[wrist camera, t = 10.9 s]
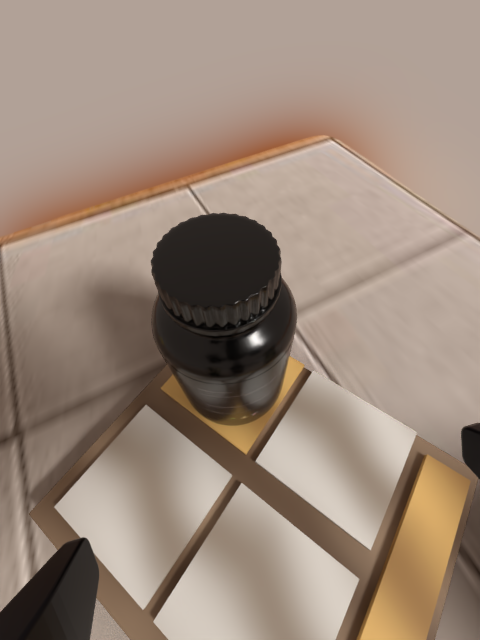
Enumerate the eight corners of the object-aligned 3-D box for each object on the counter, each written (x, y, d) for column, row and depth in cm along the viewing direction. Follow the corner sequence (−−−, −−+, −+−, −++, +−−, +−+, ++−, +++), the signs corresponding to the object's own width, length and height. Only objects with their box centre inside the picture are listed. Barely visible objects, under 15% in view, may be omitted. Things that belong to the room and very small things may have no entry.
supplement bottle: (178, 347, 22) (119, 210, 12) (266, 327, 23) (277, 182, 13) (192, 442, 19) (124, 354, 9) (296, 414, 19) (344, 304, 9)
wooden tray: (347, 878, 12) (362, 934, 10) (43, 514, 18) (24, 513, 17) (464, 476, 19) (484, 472, 17) (215, 323, 26) (213, 310, 24)
